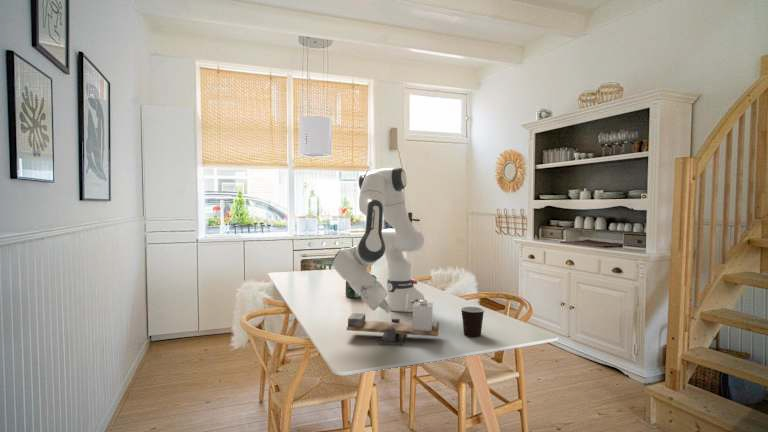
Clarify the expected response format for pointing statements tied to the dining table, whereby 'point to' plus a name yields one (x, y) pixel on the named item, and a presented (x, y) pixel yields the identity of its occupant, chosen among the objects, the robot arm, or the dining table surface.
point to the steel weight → (422, 316)
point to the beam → (385, 326)
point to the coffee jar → (351, 292)
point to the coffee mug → (472, 321)
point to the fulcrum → (392, 336)
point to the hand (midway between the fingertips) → (389, 310)
